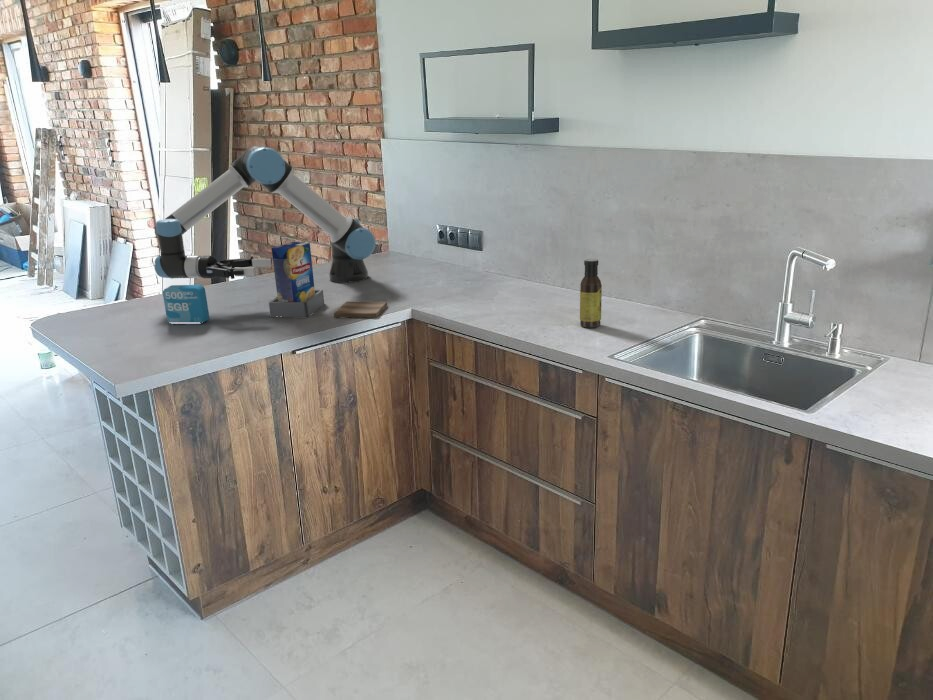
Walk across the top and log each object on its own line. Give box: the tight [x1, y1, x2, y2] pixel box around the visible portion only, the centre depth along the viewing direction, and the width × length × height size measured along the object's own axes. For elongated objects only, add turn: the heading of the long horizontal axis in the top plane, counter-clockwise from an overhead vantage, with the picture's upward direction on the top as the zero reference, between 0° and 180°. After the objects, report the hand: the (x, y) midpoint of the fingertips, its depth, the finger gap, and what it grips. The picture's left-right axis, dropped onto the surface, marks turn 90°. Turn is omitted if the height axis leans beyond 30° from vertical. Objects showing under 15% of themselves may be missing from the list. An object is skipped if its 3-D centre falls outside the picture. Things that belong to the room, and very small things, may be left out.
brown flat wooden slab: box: [333, 301, 388, 319], centre depth 234 cm, size 14×14×2 cm
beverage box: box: [271, 241, 316, 302], centre depth 234 cm, size 7×11×22 cm, turn 154°
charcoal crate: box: [268, 289, 325, 318], centre depth 237 cm, size 17×13×5 cm
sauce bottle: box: [579, 258, 603, 329], centre depth 209 cm, size 6×6×20 cm
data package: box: [162, 284, 210, 323], centre depth 226 cm, size 12×4×12 cm, turn 87°
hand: (263, 267), depth 234 cm, fingers open, 13 cm apart
